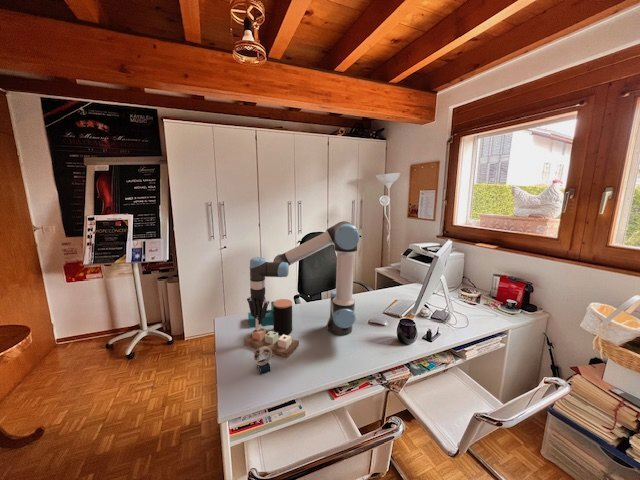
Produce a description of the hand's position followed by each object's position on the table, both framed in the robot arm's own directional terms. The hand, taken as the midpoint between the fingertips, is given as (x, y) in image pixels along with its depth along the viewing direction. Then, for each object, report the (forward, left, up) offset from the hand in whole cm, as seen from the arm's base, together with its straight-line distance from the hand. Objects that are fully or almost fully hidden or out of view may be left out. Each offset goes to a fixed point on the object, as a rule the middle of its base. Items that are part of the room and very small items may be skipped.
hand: (258, 329), depth 139 cm
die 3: (-16, 0, -5) cm, 17 cm away
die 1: (0, 0, -5) cm, 5 cm away
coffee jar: (-6, -14, -8) cm, 17 cm away
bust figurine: (-16, +17, -8) cm, 24 cm away
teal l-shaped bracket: (+11, -19, -8) cm, 23 cm away
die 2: (-8, 0, -5) cm, 10 cm away
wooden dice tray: (-8, 0, -7) cm, 11 cm away
